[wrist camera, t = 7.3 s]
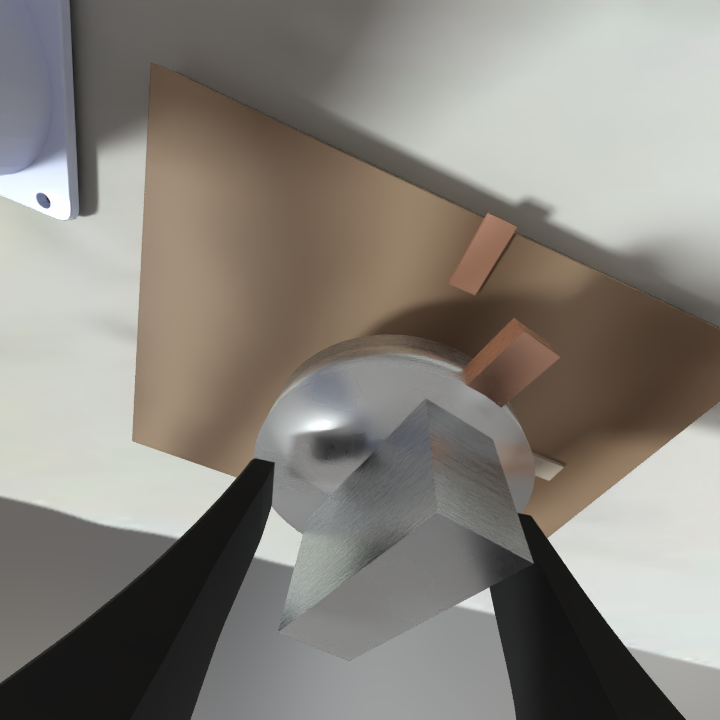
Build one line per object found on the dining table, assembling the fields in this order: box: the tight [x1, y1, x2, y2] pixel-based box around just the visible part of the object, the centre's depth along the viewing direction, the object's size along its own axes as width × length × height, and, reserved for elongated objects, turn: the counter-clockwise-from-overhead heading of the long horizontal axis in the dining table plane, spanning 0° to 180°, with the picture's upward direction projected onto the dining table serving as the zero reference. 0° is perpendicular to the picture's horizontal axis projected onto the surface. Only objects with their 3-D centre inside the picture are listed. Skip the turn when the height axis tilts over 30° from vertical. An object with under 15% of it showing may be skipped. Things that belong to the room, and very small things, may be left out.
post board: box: [132, 63, 720, 538], centre depth 14 cm, size 22×16×3 cm
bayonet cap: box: [254, 318, 560, 661], centre depth 10 cm, size 11×9×6 cm
